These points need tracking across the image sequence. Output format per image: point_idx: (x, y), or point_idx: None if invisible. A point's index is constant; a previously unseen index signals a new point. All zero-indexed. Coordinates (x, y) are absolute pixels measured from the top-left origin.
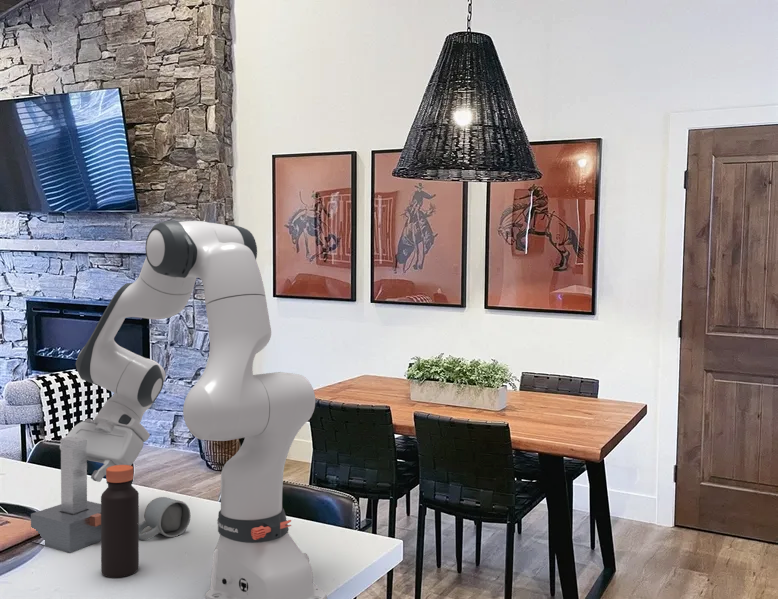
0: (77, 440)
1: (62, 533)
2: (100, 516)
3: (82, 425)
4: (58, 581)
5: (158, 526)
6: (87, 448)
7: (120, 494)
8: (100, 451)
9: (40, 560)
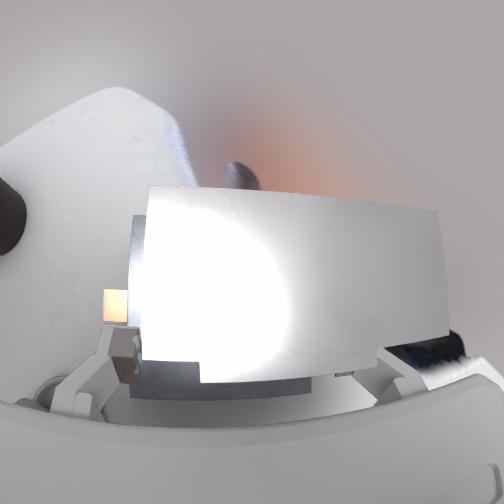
0: (210, 238)
1: None
2: (104, 310)
3: None
4: (67, 139)
5: (27, 399)
6: (307, 450)
7: None
8: (145, 456)
9: (169, 180)
